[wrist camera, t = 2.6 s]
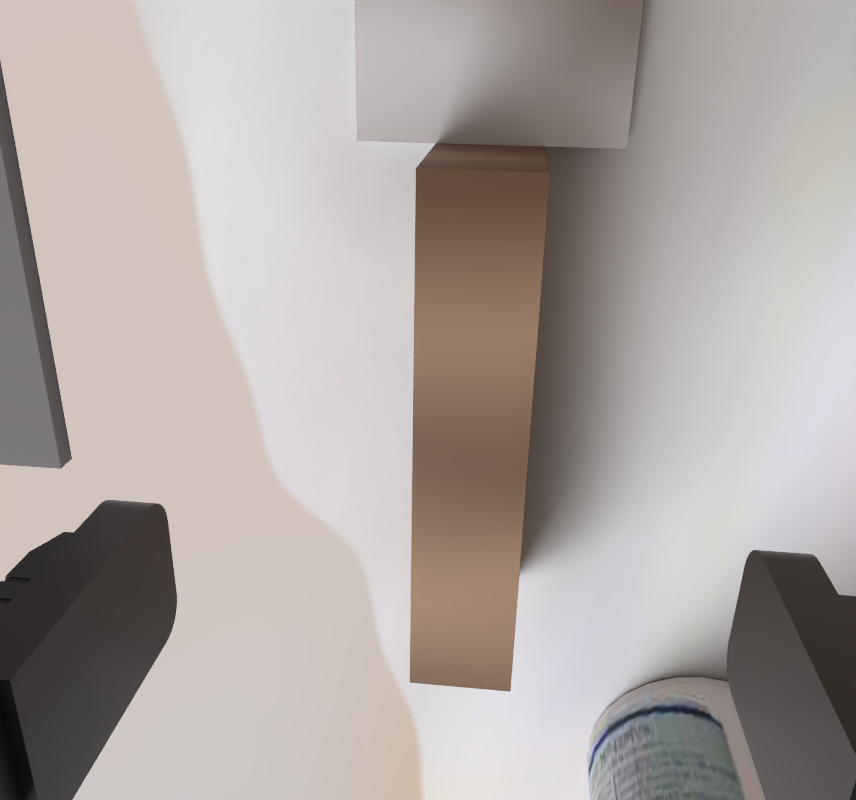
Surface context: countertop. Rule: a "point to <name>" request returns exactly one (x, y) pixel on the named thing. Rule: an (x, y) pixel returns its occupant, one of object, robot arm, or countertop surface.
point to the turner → (482, 274)
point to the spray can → (672, 745)
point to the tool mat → (24, 330)
